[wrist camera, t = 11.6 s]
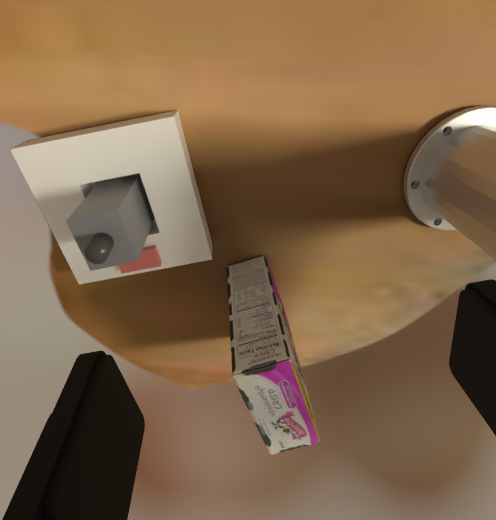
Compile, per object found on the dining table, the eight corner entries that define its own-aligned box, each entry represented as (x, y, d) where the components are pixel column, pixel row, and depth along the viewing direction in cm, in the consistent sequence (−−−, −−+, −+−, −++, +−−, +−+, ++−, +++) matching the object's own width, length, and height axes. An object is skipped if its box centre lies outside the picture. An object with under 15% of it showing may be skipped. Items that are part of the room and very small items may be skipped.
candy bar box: (291, 323, 47) (322, 444, 33) (253, 333, 47) (268, 458, 33) (267, 251, 41) (292, 360, 27) (224, 264, 41) (228, 378, 27)
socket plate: (177, 110, 33) (172, 118, 29) (212, 244, 40) (212, 263, 37) (27, 140, 33) (5, 151, 30) (88, 268, 40) (76, 289, 37)
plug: (139, 173, 35) (110, 221, 25) (154, 215, 37) (133, 274, 28) (99, 181, 35) (55, 233, 26) (116, 223, 37) (82, 284, 28)
